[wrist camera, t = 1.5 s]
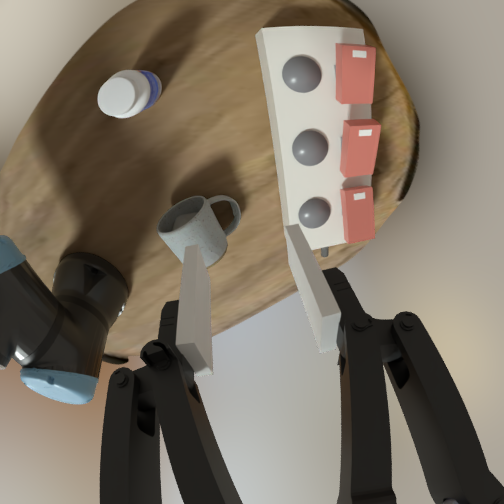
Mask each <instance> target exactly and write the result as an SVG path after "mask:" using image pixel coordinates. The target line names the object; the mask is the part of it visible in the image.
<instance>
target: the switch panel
mask: <svg viewBox="0 0 504 504" xmlns="http://www.w3.org/2000/svg"><path fill="white" fill-rule="evenodd" d="M255 37H256V42H257V47H258V53H259V58H260V64H261V70H262V76H263V81H264V87H265V94H266V100H267V106H268V112H269V119H270V126H271V132H272V139H273V146H274V153H275V161H276V168H277V176H278V183H279V191H280V199H281V208H282V216H283V225H284V234H285V237H286V230H285V226H288V225H294V224H299V226H300V228H301V230H302V232H303V234H304V236H305V238H306V240H307V242H308V244H309V246H310V248H311V250H314V249H318V248H321V256H322V257H327V256H328V246H333V245H337V244H342V243H347V242H346V241H345V240H344V228H343V216H342V205H341V195H340V189H345V188H352V187H358V186H365V185H367V186H370V187H371V175H372V174H370V175H362V176H354V177H347V178H345V177H344V176H343V174H342V173H341V171H340V161H341V150H342V137H343V122H344V120H356V119H372V118H371V104H341V103H339V102H338V101H337V100H336V48H335V43H347V44H361V45H365V39H364V33H363V29H357V28H346V27H329V26H287V27H270V28H261V29H260V30H259V32H258V33H257V34H256V35H255ZM286 240H287V239H286Z"/></svg>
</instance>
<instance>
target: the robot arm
mask: <svg viewBox="0 0 504 504" xmlns="http://www.w3.org/2000/svg"><path fill="white" fill-rule="evenodd" d="M285 230H286V239H287V249H288V259H289V265H290V268H291V271H292V274H293V276H294V279H295V282H296V285H297V288H298V291H299V293H300V296H301V299H302V302H303V305H304V307H305V310H306V313H307V316H308V319H309V322H310V325H311V328H312V331H313V334H314V337H315V340H316V343H317V346H318V349H319V352H320V353H324V352H328V351H332V350H335V349H336V345H337V346H338V348H339V351H340V354H339V360H338V365H340V386H341V425H342V426H341V432H342V433H341V437H342V438H341V473H340V490H339V497H338V500H337V504H396V496H395V493H394V491H393V489H392V461H391V436H390V422H389V410H388V400H387V392H386V383H385V376H384V370H383V365H384V367H385V369H386V371H387V374H388V376H389V379H390V381H391V384H392V386H393V388H394V391H395V393H396V396H397V398H398V401H399V403H400V406H401V409H402V411H403V414H404V416H405V419H406V422H407V425H408V427H409V430H410V433H411V436H412V438H413V441H414V444H415V447H416V450H417V453H418V456H419V459H420V463H421V466H422V469H423V472H424V476H425V479H426V482H427V486H428V489H429V492H430V494H431V496H432V498H433V500H434V502H435V503H436V504H504V487H503V486H502V484H501V483H500V482H499V481H498V480H497V479H496V478H495V477H494V475H493V474H492V473H491V472H490V471H489V469H488V466H487V463H486V459H485V457H484V453H483V450H482V448H481V445H480V442H479V439H478V436H477V434H476V431H475V429H474V426H473V423H472V421H471V419H470V416H469V414H468V412H467V409H466V407H465V404H464V402H463V400H462V398H461V396H460V394H459V391H458V389H457V387H456V385H455V383H454V381H453V379H452V377H451V375H450V373H449V371H448V369H447V367H446V365H445V363H444V361H443V359H442V357H441V355H440V354H439V352H438V350H437V348H436V347H435V345H434V343H433V341H432V340H431V337H430V336H429V334H428V332H427V331H426V329H425V327H424V325H423V324H422V322H421V320H420V319H419V318H418V316H417V315H415V314H413V313H412V312H407V311H406V312H400V313H399V314H397V315H396V316H395V318H394V319H393V320H392V319H391V320H380V319H375V318H372V317H371V316H370V315H369V314H367V313H365V311H364V310H363V308H362V307H361V305H360V303H359V301H358V299H357V297H356V295H355V293H354V291H353V290H352V288H351V286H350V284H349V282H348V280H347V278H346V277H345V275H344V273H343V272H341V271H340V270H339V269H338V268H336V267H335V268H331V269H326V270H321V268H320V266H319V264H318V262H317V260H316V258H315V256H314V254H313V252H312V250H311V248H310V246H309V244H308V242H307V240H306V238H305V236H304V234H303V232H302V230H301V228H300V226H299V224H294V225H288V226H285ZM127 298H128V288H127V285H126V282H125V280H124V278H123V277H122V275H121V274H120V273H119V271H118V270H117V269H116V268H115V267H114V266H112V265H111V264H110V263H109V262H107V261H106V260H104V259H102V258H100V257H98V256H95V255H92V254H88V253H73V254H69V255H67V256H66V257H64V258H63V259H62V260H61V262H60V263H59V265H58V267H57V268H56V270H55V273H54V279H53V288H52V293H51V291H50V290H49V289H48V288H47V287H46V285H45V284H44V283H43V282H42V280H41V279H40V278H39V276H38V275H37V274H36V272H35V271H34V270H33V268H32V267H31V266H30V264H29V263H28V262H27V260H26V256H25V255H22V253H21V252H20V251H19V249H18V248H17V247H16V245H15V244H14V243H13V241H12V240H11V239H10V238H9V237H8V236H5V235H0V369H5V368H6V367H7V365H8V363H9V361H10V360H11V358H13V359H14V360H15V361H16V362H18V363H19V364H20V365H21V366H22V369H21V371H20V373H21V375H20V377H21V380H22V381H23V382H24V384H25V385H26V386H28V387H29V388H30V389H32V390H34V391H35V392H37V393H39V394H41V395H44V396H46V397H49V398H51V399H54V400H57V401H61V402H65V403H70V404H85V403H88V402H90V401H91V400H92V398H93V396H94V393H95V388H96V384H97V383H98V379H99V372H100V368H101V363H102V358H103V353H104V348H105V344H106V340H107V335H108V332H109V329H110V328H111V326H112V325H113V324H114V322H115V321H116V319H117V317H118V316H119V315H120V314H121V313H122V312H123V310H124V308H125V305H126V302H127ZM140 358H141V359H142V360H143V361H144V362H145V364H146V366H144V367H142V368H140V369H137V370H135V371H132V370H130V369H129V368H125V367H122V368H119V369H117V370H116V371H114V372H113V374H112V375H111V377H110V380H109V385H108V392H107V399H106V406H105V414H104V423H103V433H102V446H101V462H100V504H162V499H161V480H160V426H161V429H162V434H163V437H164V442H165V445H166V449H167V453H168V456H169V459H170V463H171V466H172V470H173V473H174V476H175V479H176V482H177V485H178V488H179V491H180V494H181V497H182V499H183V502H184V504H243V503H242V501H241V499H240V497H239V495H238V492H237V490H236V488H235V486H234V483H233V481H232V479H231V477H230V474H229V472H228V470H227V467H226V464H225V462H224V460H223V457H222V455H221V452H220V449H219V447H218V444H217V442H216V439H215V436H214V434H213V431H212V428H211V425H210V422H209V420H208V417H207V414H206V411H205V408H204V405H203V402H202V399H201V396H200V393H199V389H198V386H197V384H196V382H195V381H194V372H195V374H196V375H197V376H205V375H213V359H212V333H211V290H210V277H209V274H208V271H207V268H206V266H205V263H204V260H203V257H202V254H201V251H200V248H199V245H198V244H196V245H191V246H186V247H185V253H184V261H183V269H182V278H181V287H180V297H179V300H175V301H170V302H166V304H165V305H164V307H163V309H162V312H161V320H160V327H159V334H158V339H157V340H152V341H150V342H148V343H147V344H146V345H145V346H144V347H143V348H142V350H141V353H140Z"/></svg>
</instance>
